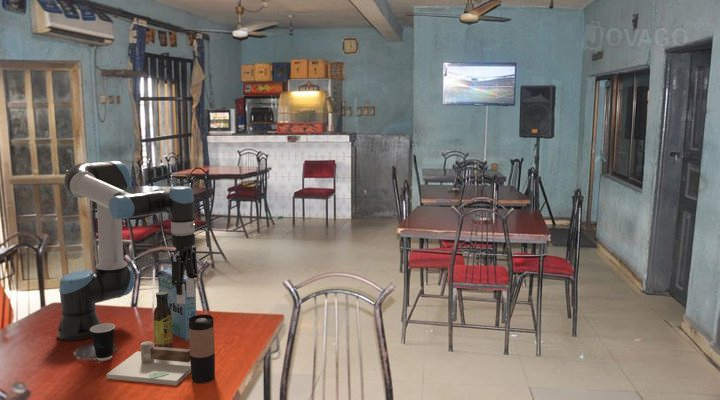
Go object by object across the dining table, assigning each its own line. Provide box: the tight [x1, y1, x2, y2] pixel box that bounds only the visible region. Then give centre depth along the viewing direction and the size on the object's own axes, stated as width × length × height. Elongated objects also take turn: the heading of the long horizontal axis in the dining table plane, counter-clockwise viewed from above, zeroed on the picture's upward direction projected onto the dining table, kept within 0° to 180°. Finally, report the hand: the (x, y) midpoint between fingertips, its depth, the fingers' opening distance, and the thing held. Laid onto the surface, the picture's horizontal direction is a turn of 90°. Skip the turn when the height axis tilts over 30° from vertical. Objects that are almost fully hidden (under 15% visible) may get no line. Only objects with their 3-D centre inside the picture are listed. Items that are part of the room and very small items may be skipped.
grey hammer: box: [140, 340, 190, 363], centre depth 195 cm, size 17×4×6 cm, turn 80°
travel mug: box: [188, 314, 216, 384], centre depth 187 cm, size 8×8×20 cm
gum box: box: [157, 268, 197, 342], centre depth 224 cm, size 20×5×23 cm, turn 47°
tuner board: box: [106, 350, 191, 386], centre depth 194 cm, size 24×18×2 cm
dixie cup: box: [90, 322, 116, 362], centre depth 202 cm, size 8×8×11 cm
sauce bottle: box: [153, 291, 174, 348], centre depth 212 cm, size 7×6×20 cm
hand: (186, 299), depth 200 cm, fingers open, 6 cm apart
